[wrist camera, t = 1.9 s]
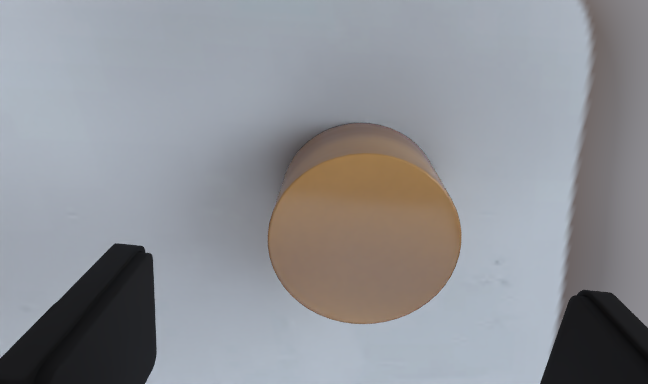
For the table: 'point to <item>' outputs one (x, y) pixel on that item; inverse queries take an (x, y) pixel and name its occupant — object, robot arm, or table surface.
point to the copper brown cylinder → (363, 226)
